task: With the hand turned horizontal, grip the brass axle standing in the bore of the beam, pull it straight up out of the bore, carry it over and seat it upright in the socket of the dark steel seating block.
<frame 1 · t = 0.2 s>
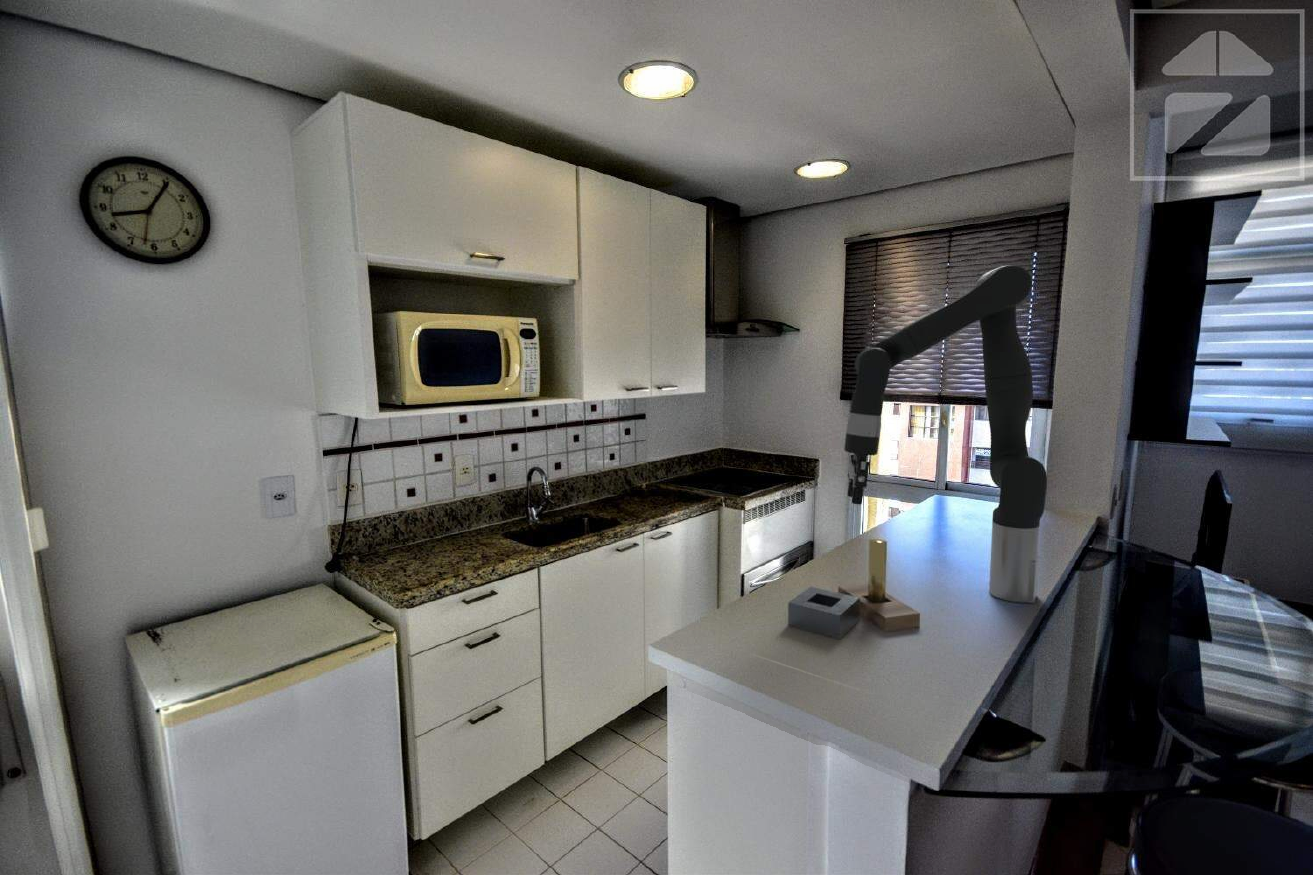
hand: (854, 500, 137), 22 cm above the worktop, tool pointing down, fingers open, 8 cm apart
axle: (877, 576, 125), in the beam
seat block: (823, 622, 121), on the worktop
beam: (876, 611, 126), on the worktop
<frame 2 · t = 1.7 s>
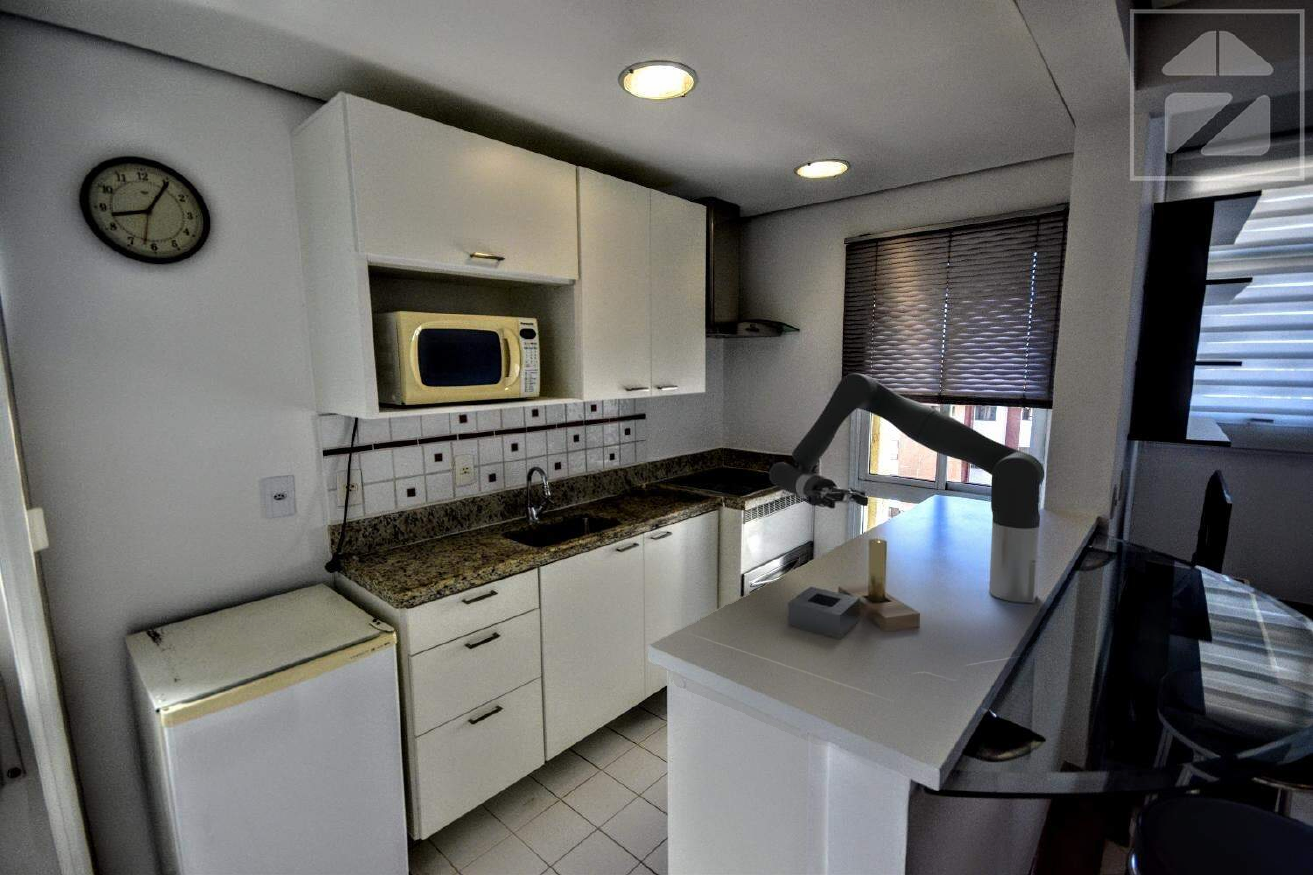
hand: (850, 503, 134), 22 cm above the worktop, tool horizontal, fingers open, 8 cm apart
nothing on the worktop moved.
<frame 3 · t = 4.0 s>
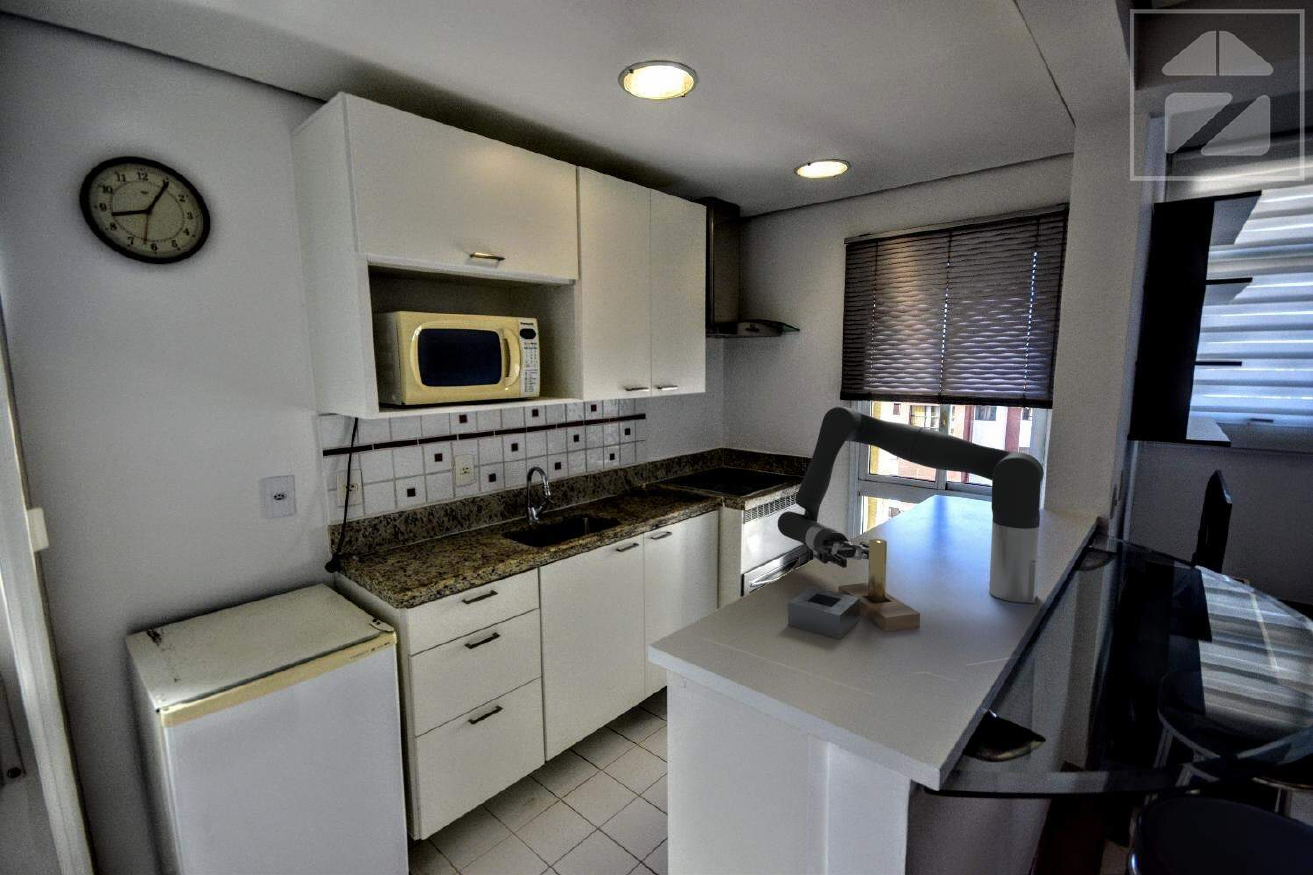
hand: (862, 561, 131), 9 cm above the worktop, tool horizontal, fingers open, 8 cm apart
nothing on the worktop moved.
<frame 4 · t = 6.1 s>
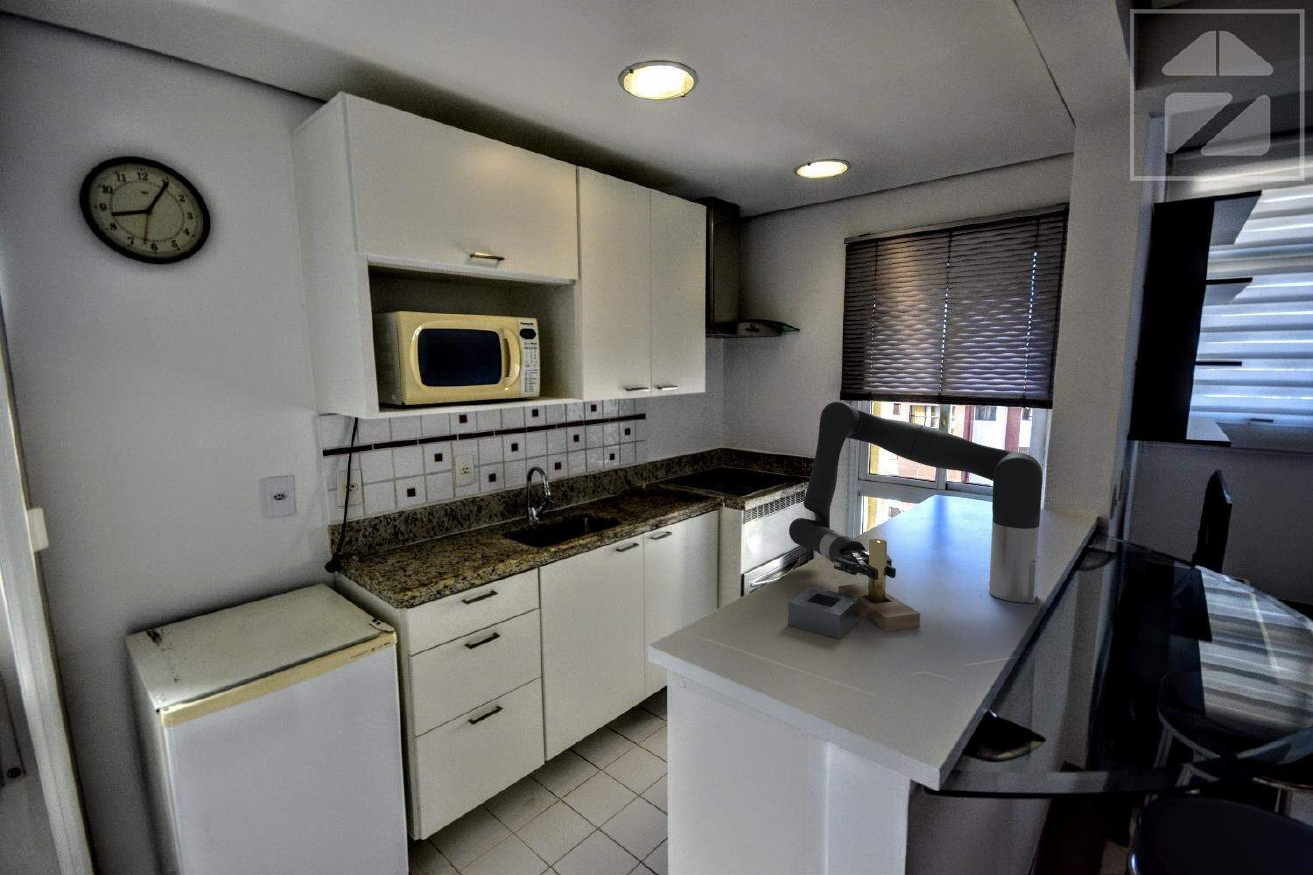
hand: (885, 574, 122), 10 cm above the worktop, tool horizontal, fingers closed on axle, 3 cm apart
axle: (877, 576, 125), in the beam, touching gripper
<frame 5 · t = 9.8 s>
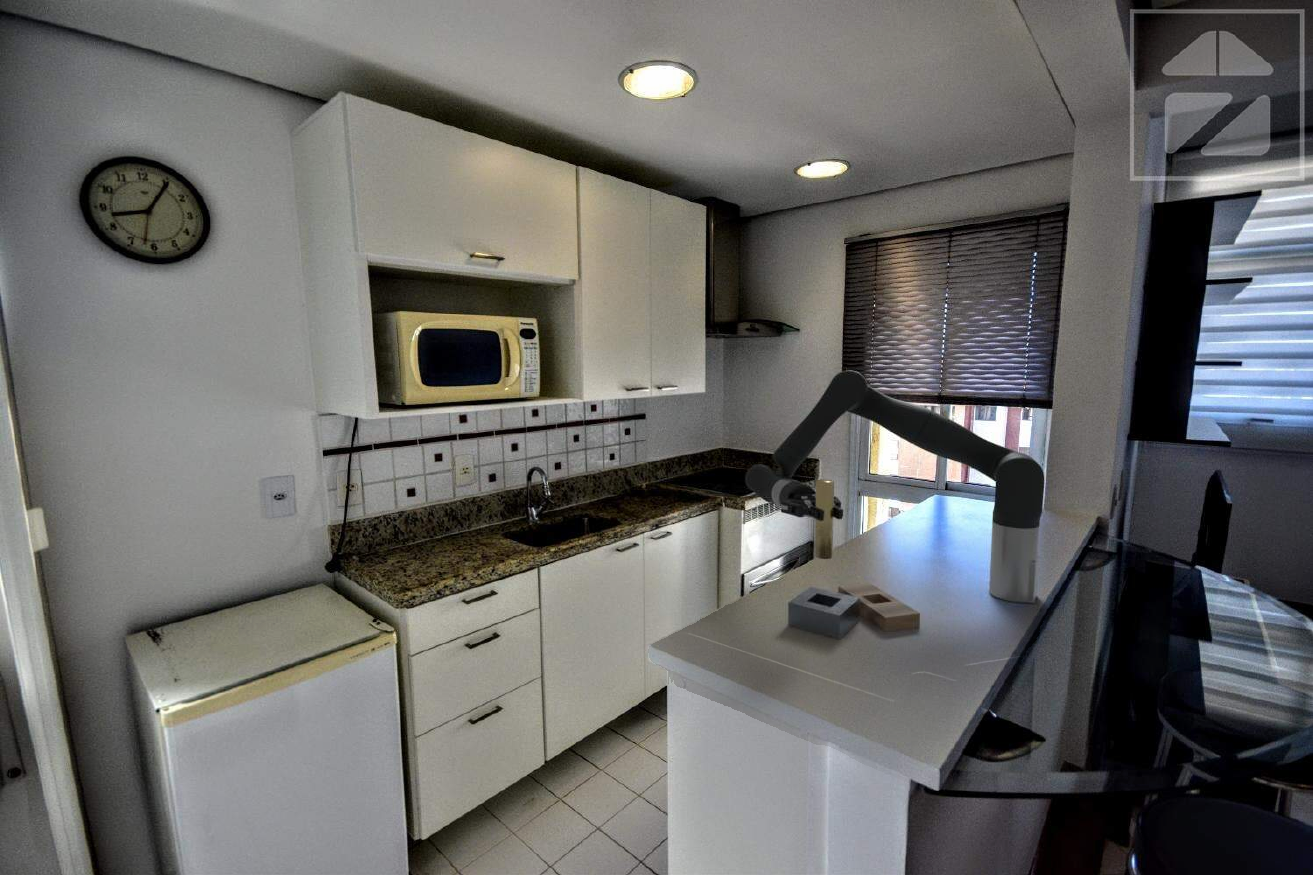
hand: (831, 515, 116), 24 cm above the worktop, tool horizontal, fingers closed on axle, 3 cm apart
axle: (824, 518, 119), point 22 cm above the worktop, touching gripper
when the fingers open (11 cm above the worktop, at t = 13.6 s): axle drops 1 cm, resting in seat block.
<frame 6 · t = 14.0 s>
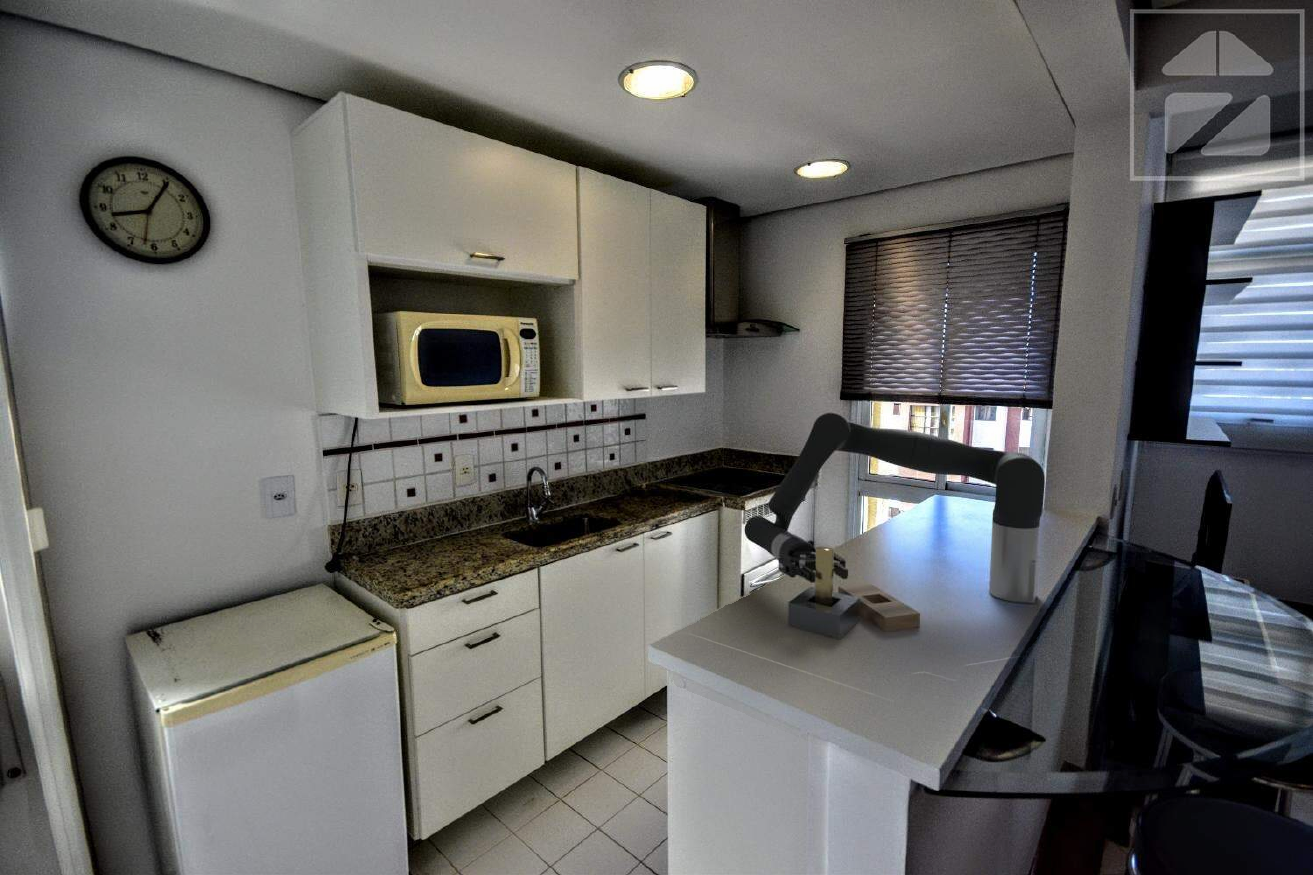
hand: (830, 576, 118), 11 cm above the worktop, tool horizontal, fingers open, 6 cm apart
axle: (824, 585, 121), in the seat block
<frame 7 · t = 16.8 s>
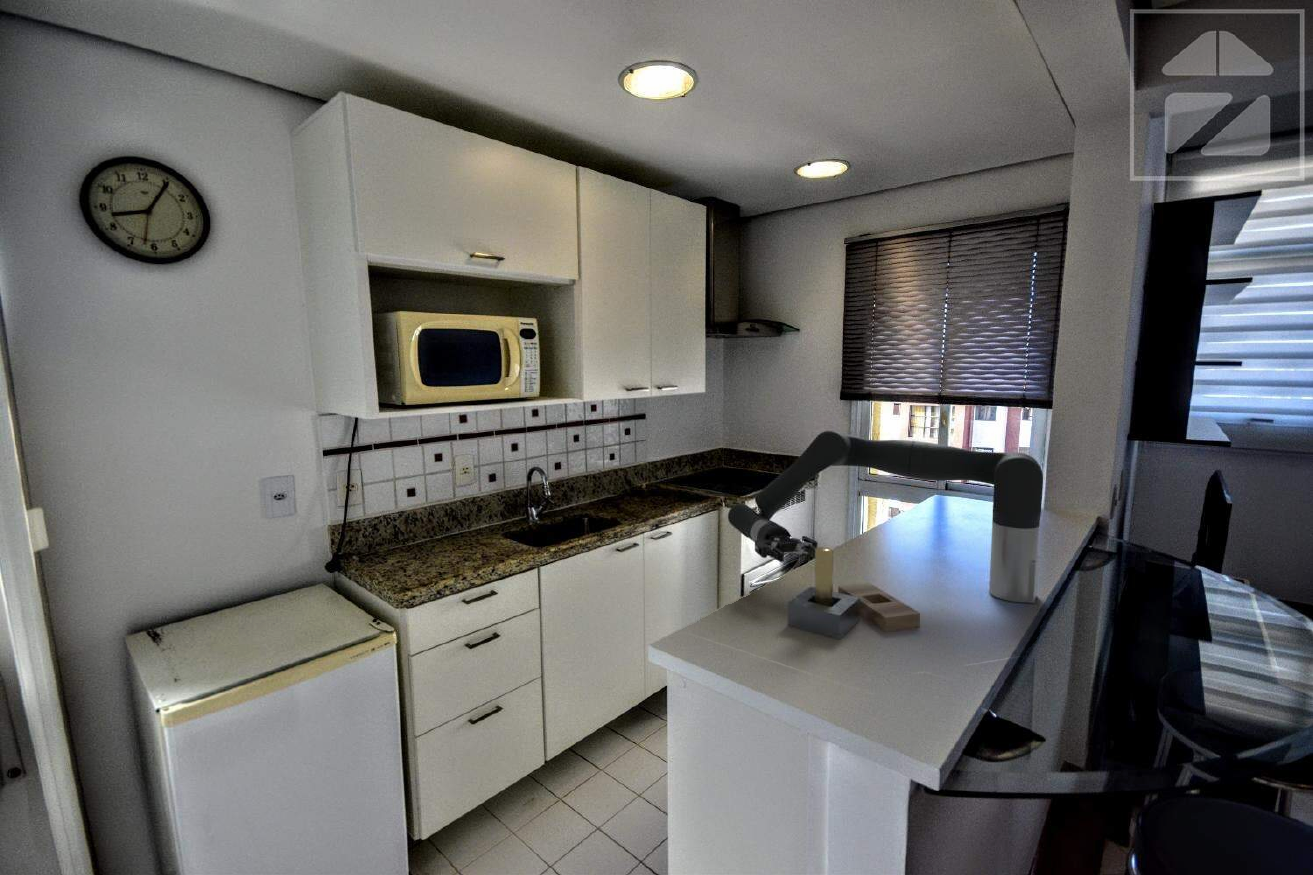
hand: (799, 556, 131), 11 cm above the worktop, tool horizontal, fingers open, 8 cm apart
nothing on the worktop moved.
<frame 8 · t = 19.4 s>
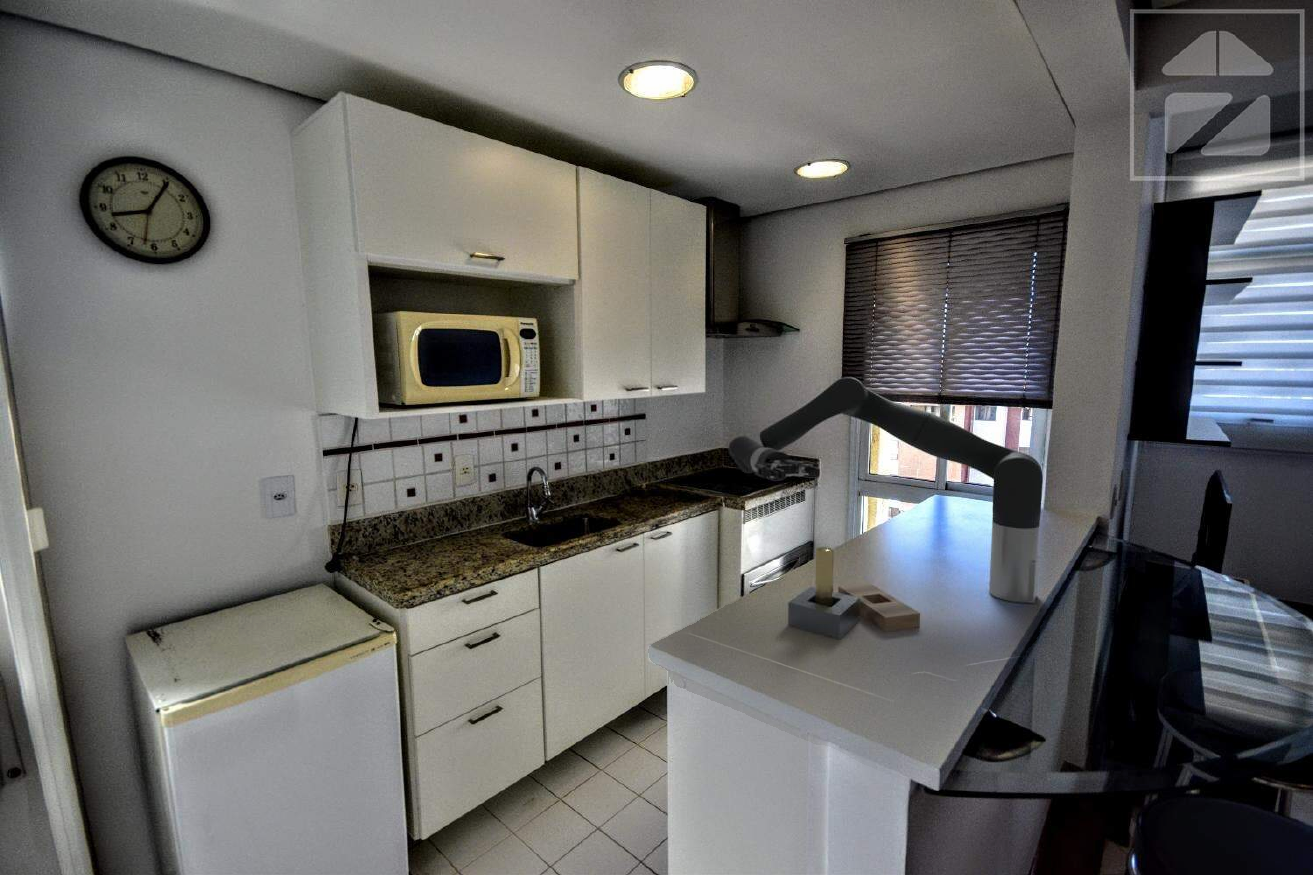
hand: (800, 474, 129), 30 cm above the worktop, tool horizontal, fingers open, 8 cm apart
nothing on the worktop moved.
at the end: axle 0.1 cm off-centre on the seat block, point 8.0 cm above the seat block's base; axle tilted 1°; the gripper is holding nothing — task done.
